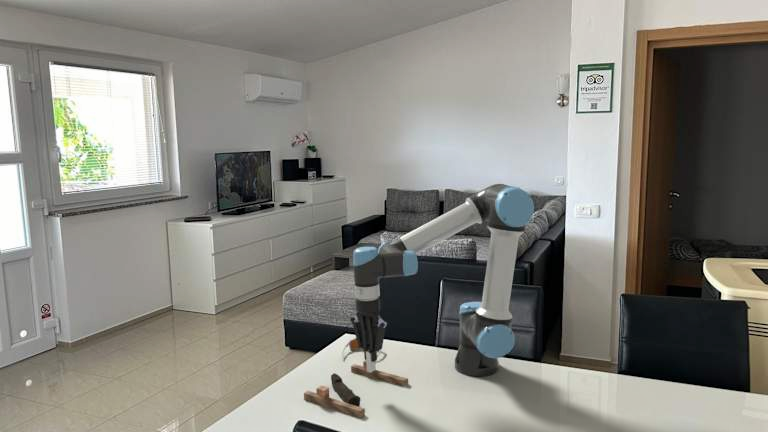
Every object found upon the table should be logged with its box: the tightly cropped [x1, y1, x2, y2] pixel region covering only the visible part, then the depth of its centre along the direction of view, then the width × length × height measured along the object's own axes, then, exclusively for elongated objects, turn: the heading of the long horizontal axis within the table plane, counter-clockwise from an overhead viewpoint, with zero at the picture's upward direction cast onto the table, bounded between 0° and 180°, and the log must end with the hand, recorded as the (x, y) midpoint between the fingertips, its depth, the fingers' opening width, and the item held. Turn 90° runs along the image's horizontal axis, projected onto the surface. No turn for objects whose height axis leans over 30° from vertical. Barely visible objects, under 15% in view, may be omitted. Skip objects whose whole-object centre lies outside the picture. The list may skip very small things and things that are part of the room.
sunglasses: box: [341, 337, 382, 363], centre depth 212 cm, size 14×15×5 cm
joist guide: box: [303, 359, 409, 419], centre depth 182 cm, size 22×26×5 cm
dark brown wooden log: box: [330, 373, 361, 407], centre depth 180 cm, size 19×4×5 cm, turn 23°
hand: (371, 370), depth 179 cm, fingers closed
